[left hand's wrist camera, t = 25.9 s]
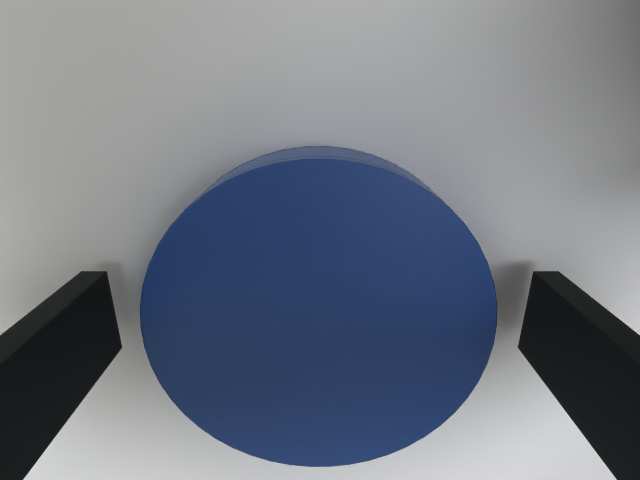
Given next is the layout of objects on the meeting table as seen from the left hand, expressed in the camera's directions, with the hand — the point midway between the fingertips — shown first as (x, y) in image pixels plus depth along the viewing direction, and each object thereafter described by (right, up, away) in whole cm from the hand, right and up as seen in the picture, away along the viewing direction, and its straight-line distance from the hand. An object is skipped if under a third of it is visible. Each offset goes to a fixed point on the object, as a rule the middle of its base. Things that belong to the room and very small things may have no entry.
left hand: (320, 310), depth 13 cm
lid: (0, 0, -1) cm, 1 cm away
